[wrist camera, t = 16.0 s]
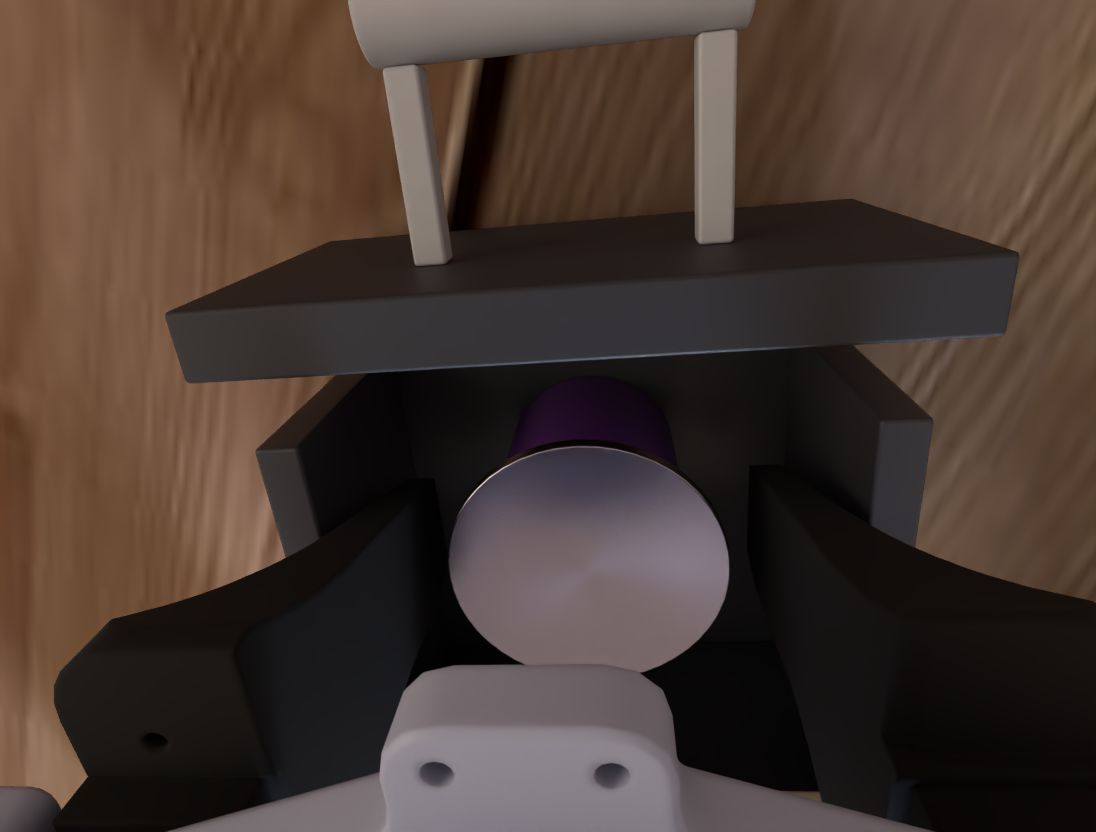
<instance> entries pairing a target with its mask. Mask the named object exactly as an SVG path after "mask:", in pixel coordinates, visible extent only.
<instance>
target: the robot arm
mask: <svg viewBox="0 0 1096 832" xmlns="http://www.w3.org/2000/svg"><path fill="white" fill-rule="evenodd" d="M747 552H748V557H749V561H750V566H751V571H752V575H753V579H754V583H755V588H756V591H757V593H758V596H759V599H760V602H761V604H762V607H763V610H764V612H765V615H766V618H767V620H768V623H769V625H770V628H771V631H772V633H773V636H774V638H775V641H776V644H777V646H778V649H779V652H780V654H781V657H782V659H783V662H784V665H785V667H786V670H787V672H788V675H789V678H790V681H791V684H792V687H793V690H794V693H795V696H796V700H797V704H798V708H799V711H800V715H801V719H802V723H803V727H804V731H805V735H806V739H807V743H808V747H809V751H810V755H811V759H812V763H813V767H814V771H815V776H816V780H817V784H818V788H819V792H820V797H821V801H822V802H820V801H816V800H812V799H808V798H805V797H801V796H797V795H793V794H789V793H786V792H782V791H778V790H774V789H770V788H767V787H763V786H759V785H755V784H751V783H748V782H744V781H740V780H736V779H732V778H729V777H725V776H721V775H717V774H713V773H710V772H706V771H702V770H698V769H694V768H691V767H687V766H685V765H683V764H682V763H680V762H679V760H678V758H677V753H676V743H675V734H674V725H673V716H672V713H671V710H670V708H669V705H668V702H667V700H666V697H665V695H664V692H663V690H662V689H661V688H660V687H658V686H657V685H655V684H654V683H653V682H651V681H650V680H649V679H647V678H646V677H644V676H643V675H642V674H640V673H639V672H638V671H635V670H630V669H625V668H620V667H615V666H609V665H604V664H543V665H453V666H449V667H445V668H440V669H436V670H432V671H427V672H423V673H422V674H421V675H420V676H419V677H418V678H417V679H416V680H415V681H414V682H413V683H412V684H410V685H409V686H408V687H407V688H406V689H405V686H406V683H407V680H408V677H409V675H410V672H411V669H412V667H413V664H414V662H415V659H416V656H417V654H418V651H419V649H420V646H421V643H422V641H423V638H424V636H425V633H426V631H427V628H428V625H429V623H430V620H431V617H432V615H433V612H434V609H435V607H436V604H437V601H438V598H439V596H440V592H441V587H442V583H443V579H444V574H445V569H446V564H447V559H448V554H447V548H446V542H445V537H444V531H443V525H442V520H441V514H440V508H439V503H438V497H437V491H436V486H435V480H434V478H426V479H407V480H405V481H403V482H401V483H400V484H398V485H397V486H395V487H394V488H392V489H391V490H389V491H388V492H387V493H385V494H384V495H382V496H381V497H380V498H378V499H377V500H375V501H374V502H373V503H371V504H370V505H369V506H367V507H366V508H364V509H363V510H362V511H360V512H359V513H357V514H356V515H355V516H353V517H352V518H350V519H349V520H347V521H346V522H344V523H343V524H341V525H340V526H338V527H337V528H335V529H334V530H332V531H331V532H329V533H327V534H326V535H324V536H323V537H321V538H320V539H318V540H317V541H315V542H313V543H312V544H310V545H308V546H307V547H305V548H303V549H301V550H300V551H298V552H296V553H294V554H292V555H290V556H288V557H287V558H285V559H283V560H281V561H279V562H277V563H275V564H273V565H271V566H269V567H267V568H264V569H262V570H260V571H257V572H255V573H253V574H251V575H248V576H246V577H244V578H241V579H239V580H237V581H234V582H232V583H230V584H227V585H225V586H222V587H219V588H217V589H214V590H211V591H208V592H206V593H203V594H200V595H197V596H194V597H191V598H188V599H185V600H182V601H179V602H175V603H172V604H169V605H165V606H161V607H158V608H154V609H150V610H146V611H142V612H139V613H135V614H131V615H127V616H123V617H119V618H115V619H112V620H110V621H109V622H108V623H107V624H106V625H105V626H104V627H103V628H102V629H101V630H100V631H99V633H98V634H97V635H96V636H95V637H94V638H93V639H92V640H91V641H90V642H89V643H88V644H87V645H86V646H85V647H84V648H83V649H82V650H81V651H80V652H79V653H78V654H77V655H76V656H75V657H74V658H73V659H72V660H71V661H70V662H69V663H68V664H67V665H66V666H65V667H64V668H63V669H62V670H61V671H60V673H59V675H58V678H57V680H56V682H55V685H54V704H55V707H56V710H57V713H58V716H59V719H60V722H61V724H62V726H63V728H64V730H65V732H66V734H67V736H68V738H69V740H70V742H71V744H72V746H73V748H74V750H75V752H76V754H77V756H78V758H79V760H80V762H81V764H82V766H83V768H84V770H85V772H86V774H87V776H88V777H87V779H86V780H85V781H84V782H83V784H82V785H81V786H80V788H79V789H78V790H77V791H76V793H75V794H74V795H73V796H72V798H71V799H70V800H69V801H68V803H67V804H66V805H65V806H64V808H63V809H62V810H61V808H60V806H59V804H58V802H57V801H56V800H55V798H54V797H53V796H52V795H51V794H49V793H48V792H46V791H44V790H42V789H39V788H34V787H15V786H0V832H1096V603H1095V602H1093V601H1089V600H1085V599H1080V598H1076V597H1071V596H1067V595H1062V594H1058V593H1053V592H1049V591H1044V590H1039V589H1035V588H1031V587H1027V586H1023V585H1019V584H1016V583H1012V582H1009V581H1006V580H1002V579H999V578H995V577H992V576H988V575H985V574H982V573H979V572H976V571H973V570H970V569H967V568H964V567H962V566H959V565H956V564H954V563H951V562H949V561H946V560H943V559H941V558H938V557H935V556H933V555H931V554H928V553H926V552H924V551H921V550H919V549H917V548H914V547H912V546H910V545H908V544H906V543H904V542H902V541H900V540H898V539H896V538H894V537H892V536H890V535H888V534H886V533H884V532H882V531H880V530H878V529H877V528H875V527H873V526H871V525H870V524H868V523H866V522H865V521H863V520H861V519H859V518H858V517H856V516H854V515H853V514H851V513H850V512H848V511H847V510H845V509H843V508H842V507H840V506H839V505H837V504H836V503H834V502H833V501H831V500H830V499H828V498H827V497H826V496H824V495H823V494H821V493H820V492H818V491H817V490H816V489H814V488H813V487H811V486H810V485H809V484H807V483H806V482H805V481H803V480H802V479H800V478H799V477H798V476H796V475H795V474H794V473H792V472H791V471H789V470H788V469H787V468H785V467H784V466H782V465H780V464H772V465H749V493H748V525H747ZM404 689H405V690H404Z"/></svg>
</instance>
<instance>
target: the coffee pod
mask: <svg viewBox="0 0 1096 832" xmlns="http://www.w3.org/2000/svg"><path fill="white" fill-rule="evenodd" d="M448 570H449V577H450V581H451V585H452V589H453V592H454V594H455V596H456V599H457V601H458V604H459V605H460V607H461V609H462V611H463V612H464V614H465V616H466V617H467V619H468V620H469V621H470V622H471V624H472V625H473V626H474V628H475V629H476V630H477V631H478V632H479V633H480V634H481V635H482V636H483V637H484V638H485V639H486V640H487V641H488V642H489V643H491V644H492V645H493V646H494V647H496V648H497V649H498V650H500V651H501V652H503V653H504V654H506V655H507V656H509V657H511V658H512V659H514V660H516V661H518V662H520V663H522V664H524V665H543V664H604V665H609V666H615V667H620V668H625V669H630V670H635V671H638V672H639V673H643V672H646V671H649V670H651V669H654V668H656V667H659V666H661V665H663V664H665V663H667V662H669V661H671V660H673V659H675V658H676V657H678V656H679V655H681V654H682V653H683V652H685V651H686V650H688V649H689V648H690V647H691V646H692V645H694V644H695V643H696V642H697V641H698V640H699V639H700V638H701V637H702V636H703V635H704V634H705V632H706V631H707V630H708V629H709V628H710V626H711V625H712V623H713V622H714V620H715V619H716V617H717V615H718V614H719V612H720V609H721V607H722V605H723V603H724V600H725V598H726V594H727V590H728V587H729V581H730V572H731V563H730V551H729V547H728V542H727V538H726V534H725V530H724V528H723V525H722V523H721V520H720V518H719V515H718V513H717V512H716V510H715V508H714V506H713V505H712V503H711V501H710V500H709V499H708V497H707V496H706V495H705V494H704V492H703V491H702V490H701V489H700V487H699V486H698V485H697V484H696V483H695V482H694V481H692V480H691V479H690V478H689V477H688V476H687V475H686V474H685V473H683V472H682V471H681V470H679V469H678V465H677V460H676V455H675V450H674V445H673V440H672V435H671V431H670V428H669V425H668V423H667V420H666V418H665V417H664V415H663V413H662V412H661V410H660V409H659V408H658V406H657V405H656V404H655V403H654V402H653V401H652V400H651V399H650V398H649V397H648V396H647V395H645V394H644V393H643V392H641V391H640V390H638V389H637V388H635V387H633V386H631V385H629V384H627V383H624V382H622V381H619V380H615V379H611V378H605V377H579V378H574V379H570V380H566V381H563V382H561V383H558V384H556V385H554V386H552V387H550V388H548V389H547V390H545V391H544V392H542V393H541V394H540V395H538V396H537V397H536V398H535V399H534V400H533V401H532V402H531V403H530V405H529V406H528V407H527V408H526V410H525V411H524V413H523V415H522V416H521V418H520V421H519V423H518V425H517V428H516V432H515V435H514V438H513V442H512V445H511V448H510V451H509V455H508V458H507V460H505V461H503V462H502V463H501V464H499V465H498V466H496V467H495V468H493V469H492V470H491V471H490V472H488V473H487V474H486V475H485V476H484V477H483V478H482V479H481V480H480V481H479V482H478V483H477V484H476V485H475V487H474V488H473V489H472V490H471V492H470V493H469V494H468V495H467V497H466V499H465V501H464V502H463V504H462V506H461V508H460V509H459V512H458V515H457V517H456V520H455V522H454V525H453V528H452V530H451V535H450V540H449V544H448Z"/></svg>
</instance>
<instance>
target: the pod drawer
mask: <svg viewBox="0 0 1096 832" xmlns="http://www.w3.org/2000/svg"><path fill="white" fill-rule="evenodd" d="M755 3H756V0H348V4H349V10H350V15H351V19H352V23H353V27H354V30H355V34H356V37H357V40H358V42H359V45H360V47H361V49H362V52H363V54H364V56H365V58H366V59H367V61H368V62H369V64H370V65H371V66H372V67H373V68H376V69H379V70H381V69H383V77H384V83H385V89H386V95H387V101H388V107H389V113H390V119H391V125H392V131H393V137H394V143H395V149H396V155H397V161H398V167H399V173H400V179H401V185H402V191H403V197H404V203H405V209H406V215H407V221H408V227H409V233H410V235H401V236H389V237H377V238H364V239H352V240H340V241H330V242H328V243H325V244H323V245H321V246H319V247H316V248H314V249H312V250H309V251H307V252H305V253H302V254H300V255H298V256H295V257H293V258H291V259H288V260H286V261H284V262H282V263H279V264H277V265H275V266H272V267H270V268H268V269H265V270H263V271H261V272H258V273H256V274H254V275H252V276H249V277H247V278H245V279H242V280H240V281H238V282H235V283H233V284H231V285H228V286H226V287H224V288H221V289H219V290H217V291H215V292H212V293H210V294H208V295H205V296H203V297H201V298H198V299H196V300H194V301H191V302H189V303H187V304H184V305H182V306H180V307H178V308H175V309H173V310H171V311H169V312H167V313H166V314H165V318H166V321H167V324H168V327H169V330H170V333H171V336H172V339H173V343H174V346H175V349H176V352H177V355H178V358H179V361H180V364H181V368H182V371H183V374H184V377H185V380H186V381H187V383H207V382H224V381H241V380H258V379H275V378H292V377H309V376H326V375H336V376H335V377H334V378H333V379H331V380H330V381H329V382H328V383H327V384H326V385H325V386H324V387H323V388H322V389H321V390H320V391H319V392H317V393H316V394H315V395H314V396H313V397H312V398H311V399H310V400H309V401H308V402H307V403H306V404H305V405H304V406H302V407H301V408H300V409H299V410H298V411H297V412H296V413H295V414H294V415H293V416H292V417H291V418H290V419H289V420H287V421H286V422H285V423H284V424H283V425H282V426H281V427H280V428H279V429H278V430H277V431H276V432H275V433H273V434H272V435H271V436H270V437H269V438H268V439H267V440H266V441H265V442H264V443H263V444H262V445H261V446H260V447H258V448H257V449H256V456H257V459H258V463H259V466H260V470H261V473H262V477H263V480H264V484H265V487H266V490H267V494H268V497H269V501H270V504H271V508H272V511H273V515H274V518H275V521H276V525H277V528H278V532H279V535H280V539H281V542H282V546H283V549H284V553H285V556H286V558H287V557H288V556H290V555H292V554H294V553H296V552H298V551H300V550H301V549H303V548H305V547H307V546H308V545H310V544H312V543H313V542H315V541H317V540H318V539H320V538H321V537H323V536H324V535H326V534H327V533H329V532H331V531H332V530H334V529H335V528H337V527H338V526H340V525H341V524H343V523H344V522H346V521H347V520H349V519H350V518H352V517H353V516H355V515H356V514H357V513H359V512H360V511H362V510H363V509H364V508H366V507H367V506H369V505H370V504H371V503H373V502H374V501H375V500H377V499H378V498H380V497H381V496H382V495H384V494H385V493H387V492H388V491H389V490H391V489H392V488H394V487H395V486H397V485H398V484H400V483H401V482H403V481H405V480H407V479H426V478H434V480H435V486H436V491H437V497H438V503H439V508H440V514H441V520H442V525H443V531H444V537H445V542H446V548H447V554H448V544H449V540H450V535H451V530H452V528H453V525H454V522H455V520H456V517H457V515H458V512H459V509H460V508H461V506H462V504H463V502H464V501H465V499H466V497H467V495H468V494H469V493H470V492H471V490H472V489H473V488H474V487H475V485H476V484H477V483H478V482H479V481H480V480H481V479H482V478H483V477H484V476H485V475H486V474H487V473H488V472H490V471H491V470H492V469H493V468H495V467H496V466H498V465H499V464H501V463H502V462H503V461H505V460H507V458H508V455H509V451H510V448H511V445H512V442H513V438H514V435H515V432H516V428H517V425H518V423H519V421H520V418H521V416H522V415H523V413H524V411H525V410H526V408H527V407H528V406H529V405H530V403H531V402H532V401H533V400H534V399H535V398H536V397H537V396H538V395H540V394H541V393H542V392H544V391H545V390H547V389H548V388H550V387H552V386H554V385H556V384H558V383H561V382H563V381H566V380H570V379H574V378H579V377H605V378H611V379H615V380H619V381H622V382H624V383H627V384H629V385H631V386H633V387H635V388H637V389H638V390H640V391H641V392H643V393H644V394H645V395H647V396H648V397H649V398H650V399H651V400H652V401H653V402H654V403H655V404H656V405H657V406H658V408H659V409H660V410H661V412H662V413H663V415H664V417H665V418H666V420H667V423H668V425H669V428H670V431H671V435H672V440H673V445H674V450H675V455H676V460H677V465H678V469H679V470H681V471H682V472H683V473H685V474H686V475H687V476H688V477H689V478H690V479H691V480H692V481H694V482H695V483H696V484H697V485H698V486H699V487H700V489H701V490H702V491H703V492H704V494H705V495H706V496H707V497H708V499H709V500H710V501H711V503H712V505H713V506H714V508H715V510H716V512H717V513H718V515H719V518H720V520H721V523H722V525H723V528H724V530H725V534H726V538H727V542H728V547H729V551H730V563H731V572H730V581H729V587H728V590H727V594H726V598H725V600H724V603H723V605H722V607H721V609H720V612H719V614H718V615H717V617H716V619H715V620H714V622H713V623H712V625H711V626H710V628H709V629H708V630H707V631H706V632H705V634H704V635H703V636H702V637H701V638H700V639H699V640H698V641H697V642H696V643H695V644H694V645H692V646H691V647H690V648H689V649H688V650H686V651H685V652H683V653H682V654H681V655H679V656H678V657H676V658H675V659H673V660H671V661H669V662H667V663H665V664H663V665H661V666H659V667H656V668H654V669H651V670H649V671H646V672H643V673H640V674H642V675H643V676H644V677H646V678H647V679H649V680H650V681H651V682H653V683H654V684H655V685H657V686H658V687H660V688H661V689H662V690H663V692H664V695H665V697H666V700H667V702H668V705H669V708H670V710H671V713H672V716H673V725H674V734H675V743H676V753H677V758H678V760H679V762H680V763H682V764H683V765H685V766H687V767H691V768H694V769H698V770H702V771H706V772H710V773H713V774H717V775H721V776H725V777H729V778H732V779H736V780H740V781H744V782H748V783H751V784H755V785H759V786H763V787H767V788H770V789H774V790H778V791H819V788H818V784H817V780H816V776H815V771H814V767H813V763H812V759H811V755H810V751H809V747H808V743H807V739H806V735H805V731H804V727H803V723H802V719H801V715H800V711H799V708H798V704H797V700H796V696H795V693H794V690H793V687H792V684H791V681H790V678H789V675H788V672H787V670H786V667H785V665H784V662H783V659H782V657H781V654H780V652H779V649H778V646H777V644H776V641H775V638H774V636H773V633H772V631H771V628H770V625H769V623H768V620H767V618H766V615H765V612H764V610H763V607H762V604H761V602H760V599H759V596H758V593H757V591H756V588H755V583H754V579H753V575H752V571H751V566H750V561H749V557H748V552H747V525H748V493H749V465H772V464H780V465H782V466H784V467H785V468H787V469H788V470H789V471H791V472H792V473H794V474H795V475H796V476H798V477H799V478H800V479H802V480H803V481H805V482H806V483H807V484H809V485H810V486H811V487H813V488H814V489H816V490H817V491H818V492H820V493H821V494H823V495H824V496H826V497H827V498H828V499H830V500H831V501H833V502H834V503H836V504H837V505H839V506H840V507H842V508H843V509H845V510H847V511H848V512H850V513H851V514H853V515H854V516H856V517H858V518H859V519H861V520H863V521H865V522H866V523H868V524H870V525H871V526H873V527H875V528H877V529H878V530H880V531H882V532H884V533H886V534H888V535H890V536H892V537H894V538H896V539H898V540H900V541H902V542H904V543H906V544H908V545H910V546H912V547H914V548H915V543H916V536H917V529H918V522H919V516H920V509H921V502H922V495H923V489H924V482H925V475H926V468H927V462H928V455H929V448H930V441H931V435H932V428H933V419H932V417H930V416H929V415H928V414H927V413H926V412H925V411H924V410H923V409H922V408H921V407H920V406H918V405H917V404H916V403H915V402H914V401H913V400H912V399H911V398H910V397H909V396H908V395H907V394H905V393H904V392H903V391H902V390H901V389H900V388H899V387H898V386H897V385H896V384H895V383H893V382H892V381H891V380H890V379H889V378H888V377H887V376H886V375H885V374H884V373H883V372H881V371H880V370H879V369H878V368H877V367H876V366H875V365H874V364H873V363H872V362H871V361H870V360H868V359H867V358H866V357H865V356H864V355H863V354H862V353H861V352H860V351H859V350H858V349H856V348H855V347H854V346H853V345H857V344H874V343H891V342H908V341H926V340H943V339H960V338H977V337H994V336H1002V335H1004V334H1005V332H1006V328H1007V322H1008V317H1009V311H1010V306H1011V300H1012V295H1013V289H1014V284H1015V278H1016V273H1017V268H1018V262H1019V253H1018V252H1016V251H1013V250H1010V249H1007V248H1004V247H1001V246H997V245H994V244H991V243H988V242H985V241H982V240H979V239H976V238H973V237H969V236H966V235H963V234H960V233H957V232H954V231H951V230H948V229H944V228H941V227H938V226H935V225H932V224H929V223H926V222H923V221H920V220H916V219H913V218H910V217H907V216H904V215H901V214H898V213H895V212H891V211H888V210H885V209H882V208H879V207H876V206H873V205H870V204H867V203H863V202H860V201H857V200H854V199H843V200H831V201H818V202H806V203H794V204H781V205H769V206H757V207H745V208H734V203H735V149H736V95H737V41H738V34H737V31H736V30H743V29H745V28H747V27H748V26H749V24H750V21H751V19H752V16H753V12H754V8H755ZM690 35H698V36H697V37H696V38H695V41H694V125H695V212H683V213H671V214H659V215H647V216H634V217H622V218H610V219H597V220H585V221H573V222H561V223H548V224H536V225H524V226H512V227H499V228H487V229H475V230H462V231H450V232H449V229H448V222H447V215H446V208H445V201H444V194H443V187H442V180H441V173H440V166H439V159H438V152H437V145H436V138H435V131H434V124H433V117H432V110H431V103H430V96H429V89H428V82H427V75H426V70H425V68H424V67H421V66H418V65H426V64H435V63H444V62H454V61H463V60H472V59H481V58H490V57H499V56H508V55H517V54H526V53H535V52H544V51H553V50H562V49H572V48H581V47H590V46H599V45H608V44H617V43H626V42H635V41H644V40H653V39H662V38H671V37H681V36H690ZM453 665H524V664H522V663H520V662H518V661H516V660H514V659H512V658H511V657H509V656H507V655H506V654H504V653H503V652H501V651H500V650H498V649H497V648H496V647H494V646H493V645H492V644H491V643H489V642H488V641H487V640H486V639H485V638H484V637H483V636H482V635H481V634H480V633H479V632H478V631H477V630H476V629H475V628H474V626H473V625H472V624H471V622H470V621H469V620H468V619H467V617H466V616H465V614H464V612H463V611H462V609H461V607H460V605H459V604H458V601H457V599H456V596H455V594H454V592H453V589H452V585H451V581H450V577H449V570H448V559H447V564H446V569H445V574H444V579H443V583H442V587H441V592H440V596H439V598H438V601H437V604H436V607H435V609H434V612H433V615H432V617H431V620H430V623H429V625H428V628H427V631H426V633H425V636H424V638H423V641H422V643H421V646H420V649H419V651H418V654H417V656H416V659H415V662H414V664H413V667H412V669H411V672H410V675H409V677H408V680H407V683H406V686H405V689H406V688H407V687H408V686H409V685H410V684H412V683H413V682H414V681H415V680H416V679H417V678H418V677H419V676H420V675H421V674H422V673H423V672H427V671H432V670H436V669H440V668H445V667H449V666H453ZM405 689H404V690H405Z"/></svg>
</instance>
